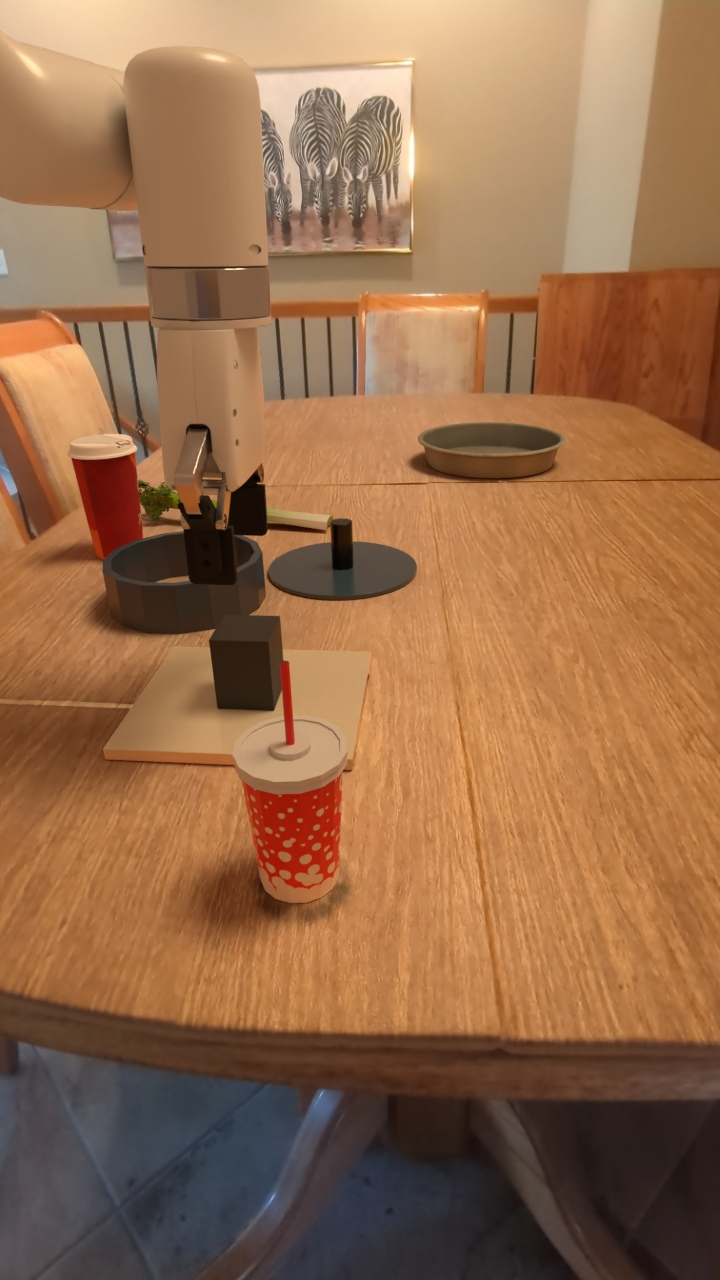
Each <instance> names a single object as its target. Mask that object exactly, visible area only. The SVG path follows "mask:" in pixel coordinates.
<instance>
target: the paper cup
mask: <svg viewBox="0 0 720 1280" xmlns="http://www.w3.org/2000/svg"><path fill="white" fill-rule="evenodd" d="M133 440H134V439H133V438H132V437H131V436H130V435H128V434H122V433H102V434H100V433H99V434H92V435H85V436H81V437H78V438H75V439H73V440H71V441H70V443H69V450H68V451H67V453H66V454H67V457H69V458H70V459H71V463H72V466H73V471H74V475H75V478H76V482H77V486H78V490H79V494H80V498H81V502H82V506H83V510H84V514H85V517H86V522H87V525H88V529H89V533H90V537H91V541H92V544H93V548H94V552H95V555H96V557H97V558H98V559H99V560H103V559H104V558H106V557H107V556H108V555H109V554H110V553H111V552H112V551H113V550H115V549H116V548H119V547H121V546H123V545H126V544H128V543H130V542H133V541H135V540H138V539H142V538H144V529H143V521H142V519H143V518H142V510H141V509H142V507H141V504H140V498H139V489H140V488H138V480H139V478H138V470H137V458H136V452H137V451H138V447H137V446H136V444H134V441H133Z"/></svg>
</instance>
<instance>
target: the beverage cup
mask: <svg viewBox="0 0 720 1280" xmlns="http://www.w3.org/2000/svg"><path fill="white" fill-rule="evenodd" d="M280 673H281V686H282V698H283V711H284V716H281V717H276V718H272V719H268V720H264V721H262V722H260V723H258V724H256V725H254V726H252V727H250V728H248V729H247V730H245V731H244V733H243V734H242V735H241V736H240V737H239V738H238V739H237V740H236V741H235V745H234V750H233V754H232V755H233V760H234V762H235V765H233V766H234V769H235V771H236V774H237V775H238V777H239V779H240V780H241V784H242V789H243V795H244V800H245V805H246V811H247V816H248V822H249V826H250V831H251V838H252V843H253V847H254V848H253V849H254V853H255V859H256V864H257V867H258V869H257V870H258V874H259V878H260V882H261V884H262V887H263V889H264V891H265V892H266V893H267V894H268V895H270V896H271V897H272V898H273V899H275V900H277V901H281V902H284V903H288V904H307V903H310V902H312V901H313V902H314V901H315V900H318V899H322V898H323V897H324V896H325V895H327V894H329V892H331V891H332V890H333V888H334V887H335V885H336V884H337V882H338V880H339V878H340V858H341V857H340V852H341V830H342V829H341V825H342V823H341V822H342V799H343V773H344V772H343V771H344V770H343V769H344V768H345V766H346V765H347V756H348V742H347V737H346V736H345V734H344V733H343V732H342V731H341V729H340V728H339V727H338V726H336V725H334V724H332V723H330V722H328V721H327V720H325V719H321V718H316V717H311V716H306V715H294V716H293V709H292V695H291V681H290V666H289V662H288V661H281V662H280Z"/></svg>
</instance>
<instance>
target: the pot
mask: <svg viewBox="0 0 720 1280" xmlns="http://www.w3.org/2000/svg"><path fill="white" fill-rule="evenodd" d="M234 540H235V552H236V564H237V576H238V578H237V581H236V582H235V584H234V585H208V584H193V583H191V582H190V580H184V581H178V582H177V581H176V582H163V581H165V580H167V579H172V578H180V577H187V576H188V577H189V575H188V566H187V557H186V549H185V540H184V531H183V530H182V531H173V532H172V531H171V532H163V533H159V534H154V535H151V536H147V537H143V538H142V539H138V540H135V541H133V542H130V543H128V544H126V545H123V546H121V547H119V548H116V549H115V550H113V551H112V552H111V553H110V554H109V555H108V556H107V557H106V558H104V559H102V575H103V580H104V581H103V582H104V586H105V591H106V592H105V593H106V597H107V602H108V608H109V613H110V618H112V619H113V620H115V621H116V623H118V624H120V625H121V626H122V627H123V628H125V629H130V630H134V631H136V632H137V631H138V632H142V633H145V634H155V635H156V634H158V635H159V634H160V635H184V634H185V635H186V634H192V633H199V632H206V631H212V630H213V631H214V630H215V629H216V628H217V626H218V624H219V623H220V621H221V620H222V618H223V616H224V615H253V613H255V612H256V611H258V610H259V609H260V608H261V607H262V604H263V603H264V601H265V599H266V597H267V591H266V581H265V580H266V579H265V569H264V568H265V567H264V556H263V555H264V554H263V550H262V548H261V546H260V544H259V543H258V541H256V540H254V539H251V538H250V537H247V536H246V535H234ZM161 581H162V582H161Z"/></svg>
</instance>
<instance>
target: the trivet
mask: <svg viewBox="0 0 720 1280" xmlns="http://www.w3.org/2000/svg"><path fill="white" fill-rule="evenodd" d="M372 658H373V652H372V651H363V650H362V651H361V650H360V651H359V650H358V651H357V650H328V649H327V650H326V649H325V650H324V649H323V650H322V649H321V650H320V649H293V648H292V649H290V648H289V649H286V648H283V661H288V662H289V666H290V681H291V695H292V709H293V716H294V715H306V716H311V717H316V718H321V719H325V720H327V721H328V722H330V723H332V724H334V725H336V726H338V727H339V728H340V729H341V731H342V732H343V733H344V734H345V736H346V737H347V742H348V756H347V765H346V766H345V768H344V769H343V771H353V769H354V765H355V759H356V753H357V748H358V742H359V736H360V731H361V725H362V720H363V713H364V710H365V709H364V708H365V704H366V699H367V691H368V686H369V680H370V675H371V674H370V670H371V664H372ZM281 716H284V711H283V698H282V691H281V694H280V696H279V699H278V702H277V704H276V707H275V710H274V711H267V710H240V709H218V708H217V701H216V693H215V685H214V677H213V669H212V661H211V653H210V646H187V645H184V646H183V645H174V646H172V648H171V649H170V650H169V652H168V654H167V655H166V656H165V658H164V660H163V661H162V662H161V664H160V665H159V667H158V668H157V670H156V671H155V673H154V674H153V675H152V677H151V678H150V680H148V682H147V684H146V686H145V687H143V689H142V691H141V692H140V694H139V695H138V697H137V698H136V700H135V702H134V703H133V704H132V706H131V707H130V709H129V710H128V712H127V713H126V714H125V716H124V717H123V719H122V720H121V722H119V724H118V726H117V727H116V729H115V731H114V732H113V733H112V735H111V736H110V738H109V739H108V740H107V742H106V743H105V744H104V746H103V748H102V751H103V755H104V759H105V760H110V761H131V762H153V763H154V762H155V763H156V762H157V763H158V762H159V763H176V764H202V765H223V766H235V762H234V760H233V755H232V754H233V750H234V745H235V741H236V740H237V739H238V738H239V737H240V736H241V735H242V734H243V733H244V731H245V730H247V729H248V728H250V727H252V726H254V725H256V724H258V723H260V722H262V721H264V720H268V719H272V718H276V717H281Z"/></svg>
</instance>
